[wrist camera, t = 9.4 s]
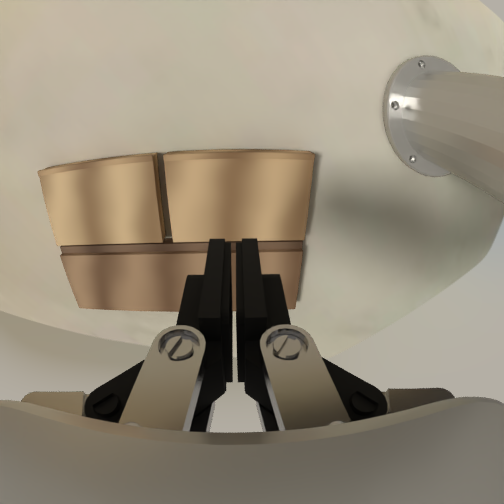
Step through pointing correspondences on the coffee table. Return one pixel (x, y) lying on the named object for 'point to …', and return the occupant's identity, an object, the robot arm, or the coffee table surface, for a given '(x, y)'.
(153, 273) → the floor plank
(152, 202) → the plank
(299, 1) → the coffee table surface
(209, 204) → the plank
